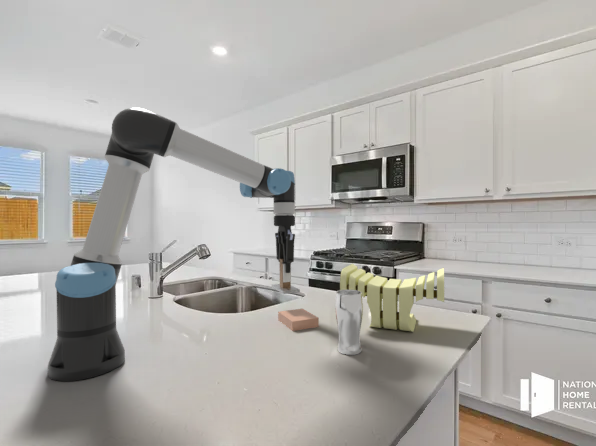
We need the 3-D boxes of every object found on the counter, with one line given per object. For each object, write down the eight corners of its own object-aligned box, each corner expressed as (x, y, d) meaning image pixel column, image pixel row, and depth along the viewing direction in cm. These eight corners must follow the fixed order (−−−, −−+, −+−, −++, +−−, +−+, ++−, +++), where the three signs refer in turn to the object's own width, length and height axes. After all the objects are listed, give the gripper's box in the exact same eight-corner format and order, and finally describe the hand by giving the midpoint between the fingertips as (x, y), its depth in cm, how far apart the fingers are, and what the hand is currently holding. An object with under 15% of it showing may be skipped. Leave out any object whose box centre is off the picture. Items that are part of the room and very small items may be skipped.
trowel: (299, 292, 113) (299, 260, 113) (283, 294, 111) (283, 261, 111) (286, 286, 124) (286, 256, 124) (271, 287, 122) (271, 257, 122)
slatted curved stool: (340, 326, 104) (339, 269, 104) (352, 313, 119) (352, 263, 119) (444, 339, 92) (444, 275, 92) (444, 322, 107) (443, 267, 107)
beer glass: (368, 349, 85) (367, 291, 85) (353, 358, 80) (352, 296, 80) (345, 343, 90) (345, 288, 90) (330, 350, 85) (329, 292, 85)
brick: (302, 317, 115) (318, 327, 104) (278, 321, 111) (292, 332, 100) (302, 308, 115) (318, 317, 104) (278, 311, 111) (292, 321, 100)
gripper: (303, 214, 111) (304, 284, 112) (285, 215, 126) (286, 276, 126) (282, 214, 108) (283, 286, 109) (267, 215, 123) (267, 278, 123)
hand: (285, 280), depth 118 cm, fingers closed on trowel, 3 cm apart
